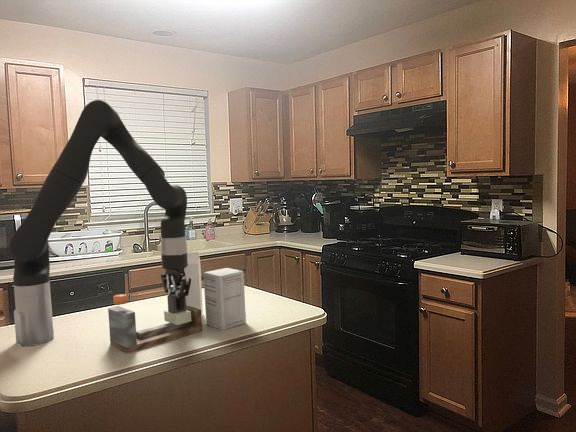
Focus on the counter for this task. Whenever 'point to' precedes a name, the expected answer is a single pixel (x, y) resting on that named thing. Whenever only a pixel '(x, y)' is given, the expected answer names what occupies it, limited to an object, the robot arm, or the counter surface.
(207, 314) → the supplement box
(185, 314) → the carriage
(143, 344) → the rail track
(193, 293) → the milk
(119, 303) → the button
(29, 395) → the counter surface
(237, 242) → the counter surface
